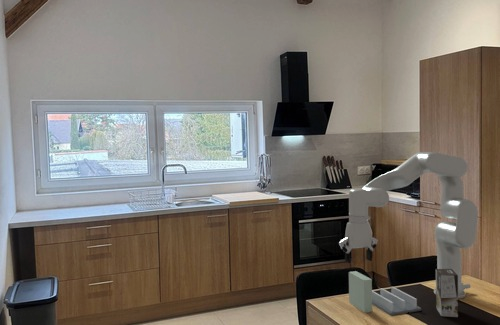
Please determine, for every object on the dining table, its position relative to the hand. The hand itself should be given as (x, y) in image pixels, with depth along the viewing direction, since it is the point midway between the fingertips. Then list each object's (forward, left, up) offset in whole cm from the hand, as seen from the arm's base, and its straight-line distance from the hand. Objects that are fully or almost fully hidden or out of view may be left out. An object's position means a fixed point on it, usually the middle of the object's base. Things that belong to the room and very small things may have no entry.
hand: (358, 261), depth 180 cm
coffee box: (-28, +17, -19) cm, 38 cm away
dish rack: (-13, +3, -19) cm, 23 cm away
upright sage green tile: (0, 0, -19) cm, 19 cm away
